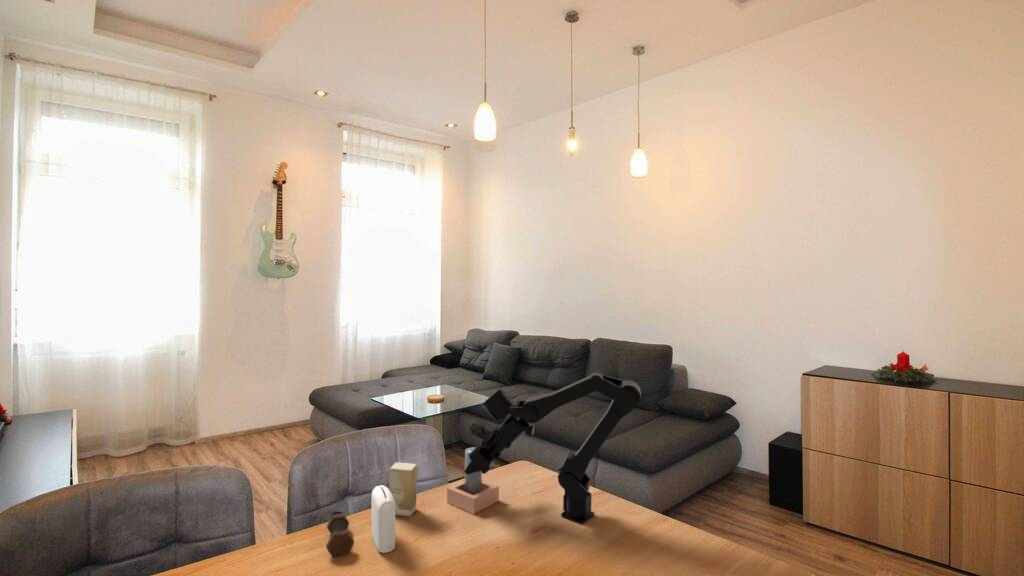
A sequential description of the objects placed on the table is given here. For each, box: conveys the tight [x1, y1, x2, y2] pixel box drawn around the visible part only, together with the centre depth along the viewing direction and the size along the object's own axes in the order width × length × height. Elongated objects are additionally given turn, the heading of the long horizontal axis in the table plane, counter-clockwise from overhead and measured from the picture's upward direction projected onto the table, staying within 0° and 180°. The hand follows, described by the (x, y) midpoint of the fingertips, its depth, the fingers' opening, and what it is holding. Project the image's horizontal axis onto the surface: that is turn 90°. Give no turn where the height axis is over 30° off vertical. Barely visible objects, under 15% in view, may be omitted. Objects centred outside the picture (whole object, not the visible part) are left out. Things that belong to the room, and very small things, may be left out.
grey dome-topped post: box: [464, 446, 483, 495], centre depth 134 cm, size 5×5×12 cm
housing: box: [446, 479, 500, 515], centre depth 134 cm, size 10×10×4 cm
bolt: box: [325, 511, 355, 558], centre depth 115 cm, size 6×5×15 cm
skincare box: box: [388, 461, 418, 517], centre depth 128 cm, size 6×4×12 cm
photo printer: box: [371, 484, 396, 554], centre depth 113 cm, size 10×4×12 cm, turn 26°
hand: (468, 469), depth 134 cm, fingers closed on grey dome-topped post, 5 cm apart
